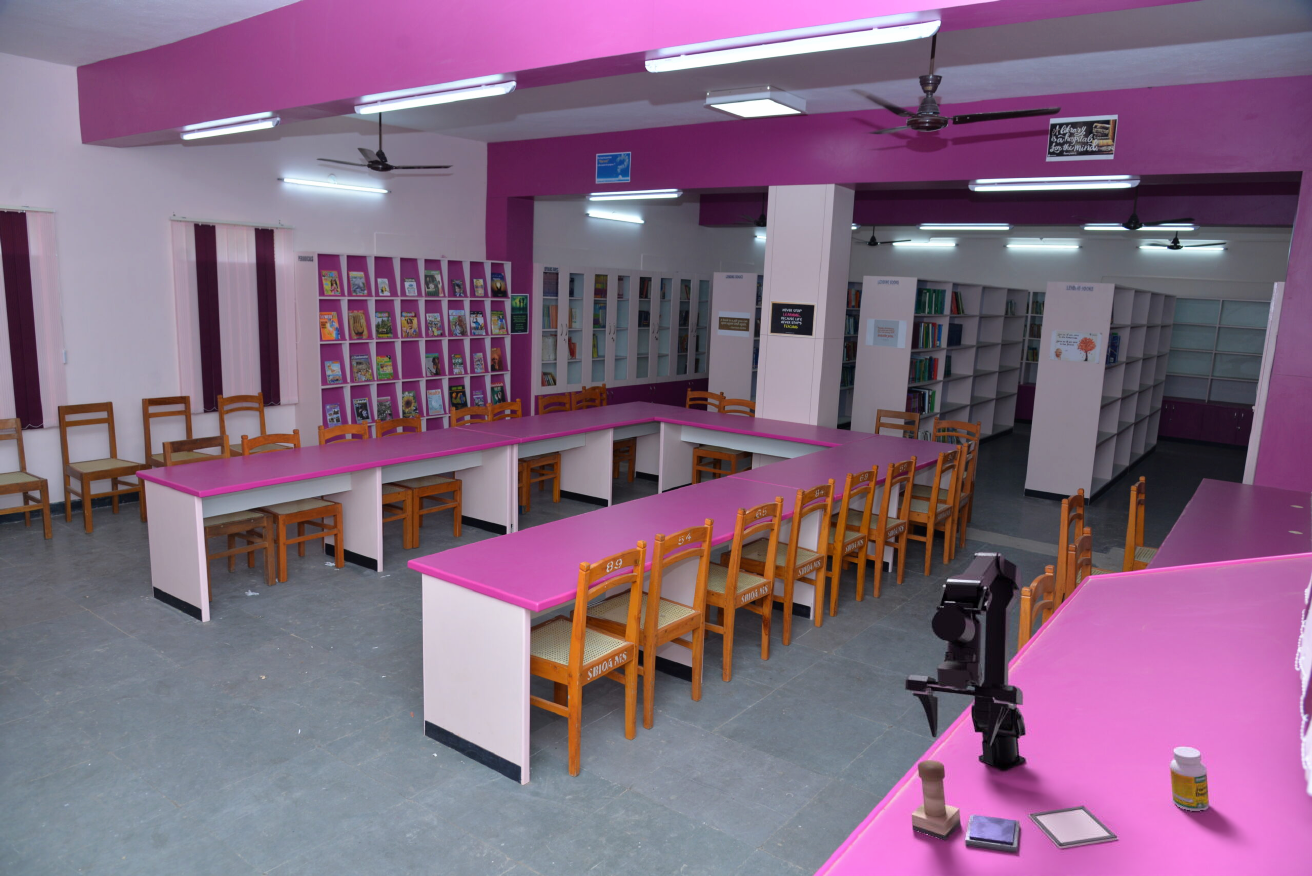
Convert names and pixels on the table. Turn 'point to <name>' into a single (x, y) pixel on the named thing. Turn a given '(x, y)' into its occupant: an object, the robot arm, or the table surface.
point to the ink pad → (993, 833)
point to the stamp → (934, 804)
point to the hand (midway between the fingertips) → (961, 741)
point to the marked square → (1072, 827)
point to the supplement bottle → (1189, 779)
